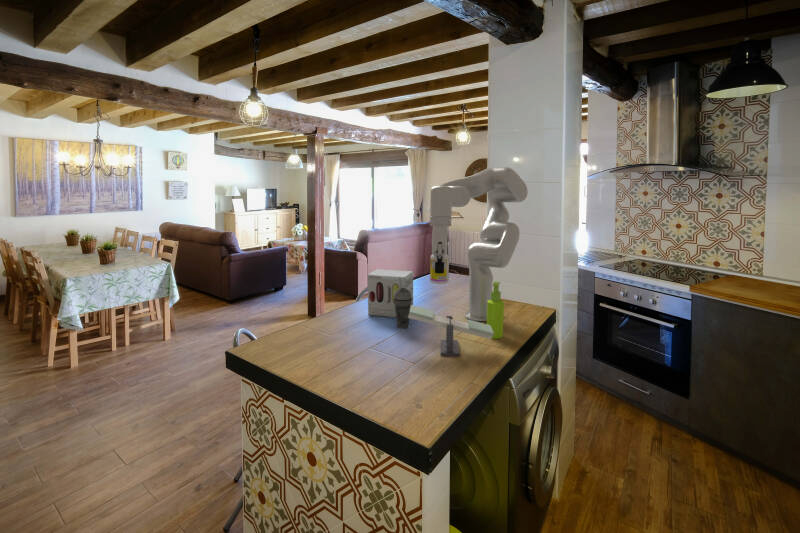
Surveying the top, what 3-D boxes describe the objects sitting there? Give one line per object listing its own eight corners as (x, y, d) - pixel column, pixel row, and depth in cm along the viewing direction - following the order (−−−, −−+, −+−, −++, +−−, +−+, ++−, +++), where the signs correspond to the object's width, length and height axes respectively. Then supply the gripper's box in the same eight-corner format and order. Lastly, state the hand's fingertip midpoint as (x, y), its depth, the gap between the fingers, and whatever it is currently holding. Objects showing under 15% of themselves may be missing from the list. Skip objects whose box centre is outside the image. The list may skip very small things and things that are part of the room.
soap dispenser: (503, 333, 154) (505, 281, 150) (501, 339, 147) (504, 285, 144) (487, 331, 156) (489, 280, 152) (485, 337, 149) (486, 284, 146)
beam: (488, 332, 141) (490, 325, 140) (491, 340, 133) (493, 333, 133) (409, 311, 142) (411, 304, 142) (407, 318, 134) (409, 311, 134)
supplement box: (367, 315, 177) (366, 274, 174) (377, 307, 190) (377, 268, 186) (405, 318, 172) (405, 276, 169) (414, 310, 185) (414, 270, 181)
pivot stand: (457, 342, 145) (458, 315, 143) (459, 356, 133) (459, 326, 131) (440, 342, 145) (440, 315, 143) (440, 355, 134) (440, 326, 132)
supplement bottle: (435, 279, 154) (436, 245, 152) (451, 282, 150) (452, 247, 148) (426, 282, 148) (427, 247, 146) (442, 285, 145) (443, 248, 142)
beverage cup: (410, 330, 158) (410, 279, 154) (391, 329, 159) (391, 278, 156) (413, 324, 165) (413, 275, 161) (395, 323, 166) (395, 274, 163)
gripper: (430, 220, 154) (429, 267, 157) (429, 223, 137) (428, 275, 140) (450, 220, 154) (449, 267, 157) (451, 223, 137) (450, 276, 140)
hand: (439, 270), depth 148 cm, fingers closed on supplement bottle, 6 cm apart
